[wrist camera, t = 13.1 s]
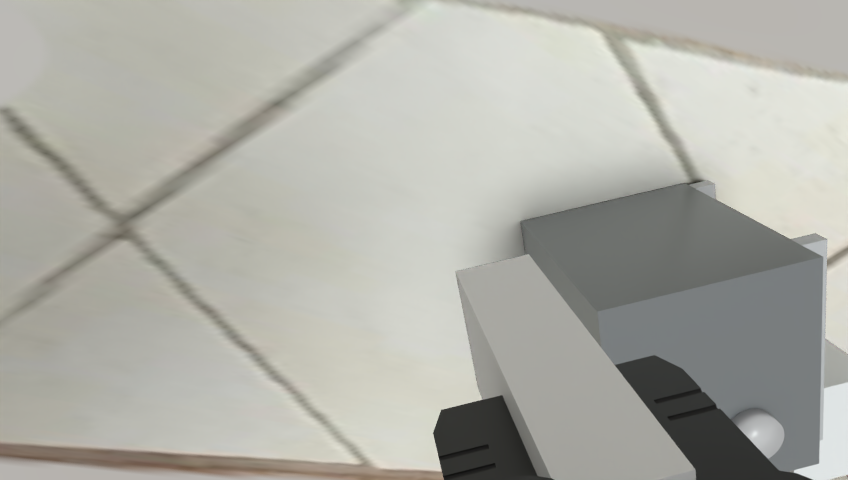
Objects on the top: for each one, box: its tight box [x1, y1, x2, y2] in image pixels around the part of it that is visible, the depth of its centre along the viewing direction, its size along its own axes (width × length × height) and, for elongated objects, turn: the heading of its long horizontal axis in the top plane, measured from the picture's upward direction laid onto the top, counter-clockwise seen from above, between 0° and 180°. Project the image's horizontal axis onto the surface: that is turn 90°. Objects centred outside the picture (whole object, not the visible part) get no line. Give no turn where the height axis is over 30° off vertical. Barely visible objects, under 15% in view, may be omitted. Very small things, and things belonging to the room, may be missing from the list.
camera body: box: [521, 180, 827, 472], centre depth 36 cm, size 11×13×13 cm
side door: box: [789, 339, 848, 480], centre depth 39 cm, size 5×6×8 cm
